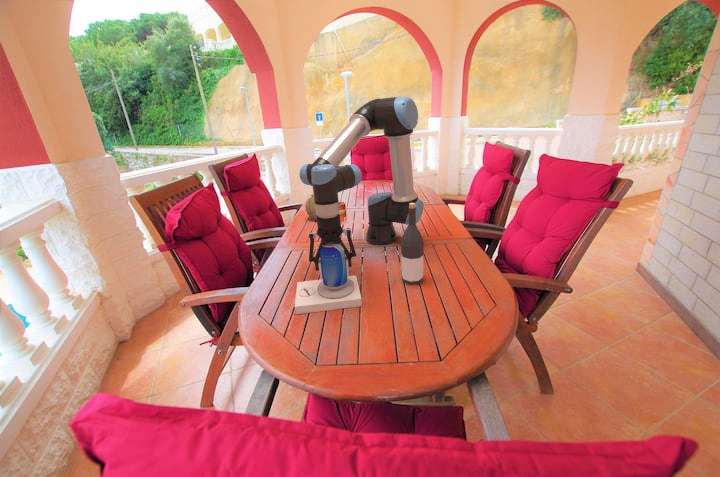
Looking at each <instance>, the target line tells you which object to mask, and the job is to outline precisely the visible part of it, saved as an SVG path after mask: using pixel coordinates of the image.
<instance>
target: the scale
mask: <svg viewBox="0 0 720 477" xmlns="http://www.w3.org/2000/svg"><path fill="white" fill-rule="evenodd" d="M296 283H297V284H296V291H295V292H296V293H295V300H294V310H295V311H294V312H295V315H301V314H302V315H303V314H310V313H317V312H327V311H334V310H335V311H336V310H343V309H350V308H357V307H362V305H363V302H362V297H361V296H362V295H361V291H360V287H359V283H358V278H357V275H349V277H347V282H346V284H345V286H344V287H342V288H340V289H329V288H327V287H326V286H325V285H324V283H323V280H320V279H313V280H305V281H298V282H296Z"/></svg>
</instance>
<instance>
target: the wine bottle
mask: <svg viewBox="0 0 720 477" xmlns="http://www.w3.org/2000/svg"><path fill="white" fill-rule="evenodd" d="M408 209H409V225H406V229H405V230H404V232H403V234H402V237H401V242H400V243H401V244H400V250H401V252H400V254H401V255H400V256H401V262H400V263H401V280H402V282H403V283H404V284H407V285H409V286H412V285H413V286H414V285H420V284H421V283H422V282H423V281H424V246H425V245H424V244H425V243H424V240H423V236H422V233H421V231H420V230H419V227H418V226H417V224H416V207H415V203H409V207H408Z"/></svg>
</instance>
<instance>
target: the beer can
mask: <svg viewBox="0 0 720 477" xmlns="http://www.w3.org/2000/svg"><path fill="white" fill-rule="evenodd" d="M345 257H346V255H345V253H344V248H343V247H342V246H341V243H340V244H338V243H337V242H329V243H325V246H324V245H322V248H321V250H320V258H319V260H321V268H322V277H323V283H324V285H325V286H326V287H327V288H329V289H340V288H342V287H344V286H345V284H346V282H347V271H346V260H345Z"/></svg>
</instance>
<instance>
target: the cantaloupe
mask: <svg viewBox="0 0 720 477" xmlns="http://www.w3.org/2000/svg"><path fill="white" fill-rule="evenodd" d="M310 196H311V197H309V198H308V199H307V200H306V202H305V211H306V214H307V215H308V216H309V217H310V218H311V219H314V220H317V215H316V210H315V200H314V194H311V195H310Z"/></svg>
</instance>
